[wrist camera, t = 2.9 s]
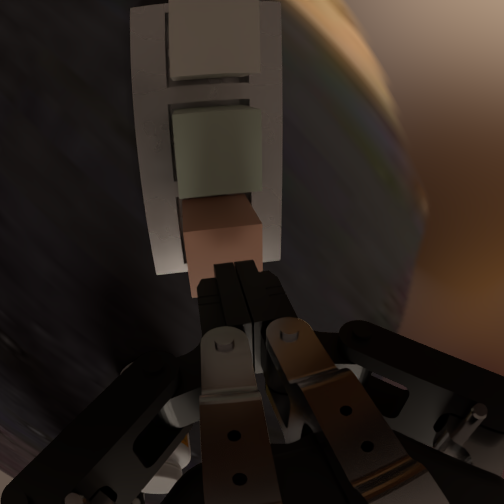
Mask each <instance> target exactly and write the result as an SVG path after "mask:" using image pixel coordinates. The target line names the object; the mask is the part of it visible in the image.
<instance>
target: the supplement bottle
mask: <svg viewBox="0 0 504 504" xmlns="http://www.w3.org/2000/svg"><path fill="white" fill-rule="evenodd" d="M132 363H133V362H132ZM132 363H130V364H128V365H127V366H126V367H125V368H124V369H123V370H122V372H121V374H122V373H123V372H124V371H125V370H126V369H127V368H128V367H129V366H130V365H131V364H132ZM121 374H120V375H121ZM190 459H191V450H190V442H189V433H188V434H187V435H186V436H185V438H184V439H183V440H182V441H181V443H180V444H179V445H178V447H177V448H176V449H175V450H174V452H173V453H172V454H171V455H170V457H169V458H168V459H167V460H166V462H165V463H164V464H163V465H162V467H161V468H160V469H159V470H158V472H157V473H156V474H155V475H154V477H153V478H152V479H151V480H150V481H149V483H148V484H147V485H146V486H145V487H144V489H143V490H142V491H141V492H144V493H152V494H164V493H169V491H170V490H171V488H172V487H173V486H174V484H175V483H176V482H177V481H178V480H179V478H180V477H181V476H182V468H184V467H185V466H186V465H187V464H188V463H189V462H190Z"/></svg>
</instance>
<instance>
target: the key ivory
mask: <svg viewBox="0 0 504 504" xmlns="http://www.w3.org/2000/svg"><path fill="white" fill-rule="evenodd" d="M169 59H170V78H171V79H172V80H173V81H181V80H192V79H206V78H225V77H243V76H248V75H252V74H257V73H261V61H260V13H259V0H169Z"/></svg>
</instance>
